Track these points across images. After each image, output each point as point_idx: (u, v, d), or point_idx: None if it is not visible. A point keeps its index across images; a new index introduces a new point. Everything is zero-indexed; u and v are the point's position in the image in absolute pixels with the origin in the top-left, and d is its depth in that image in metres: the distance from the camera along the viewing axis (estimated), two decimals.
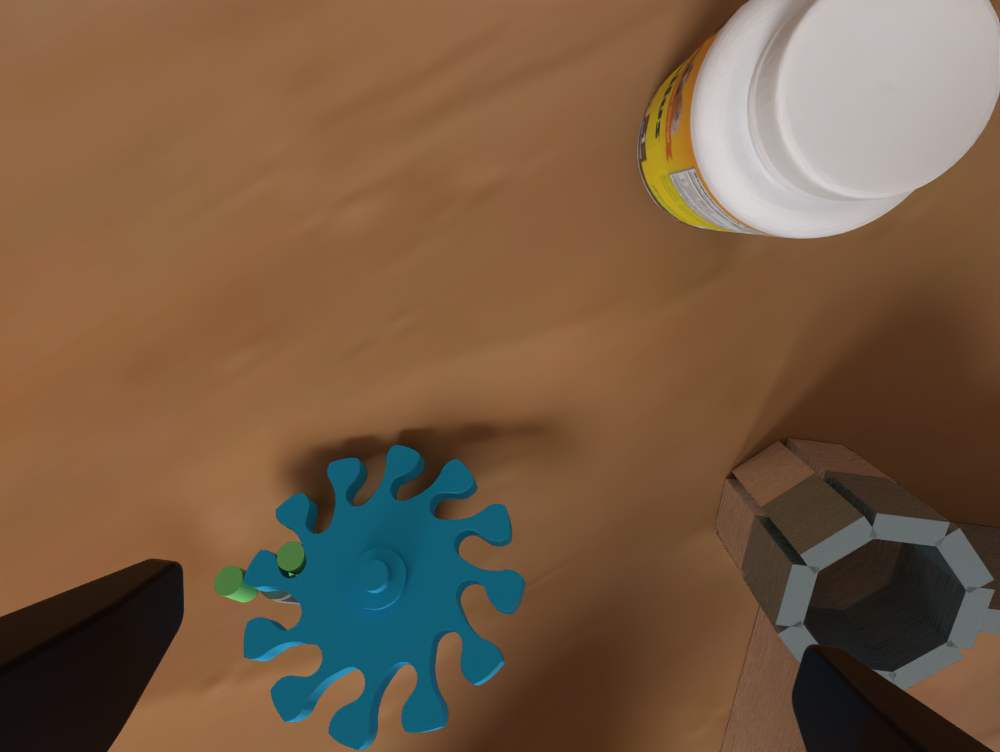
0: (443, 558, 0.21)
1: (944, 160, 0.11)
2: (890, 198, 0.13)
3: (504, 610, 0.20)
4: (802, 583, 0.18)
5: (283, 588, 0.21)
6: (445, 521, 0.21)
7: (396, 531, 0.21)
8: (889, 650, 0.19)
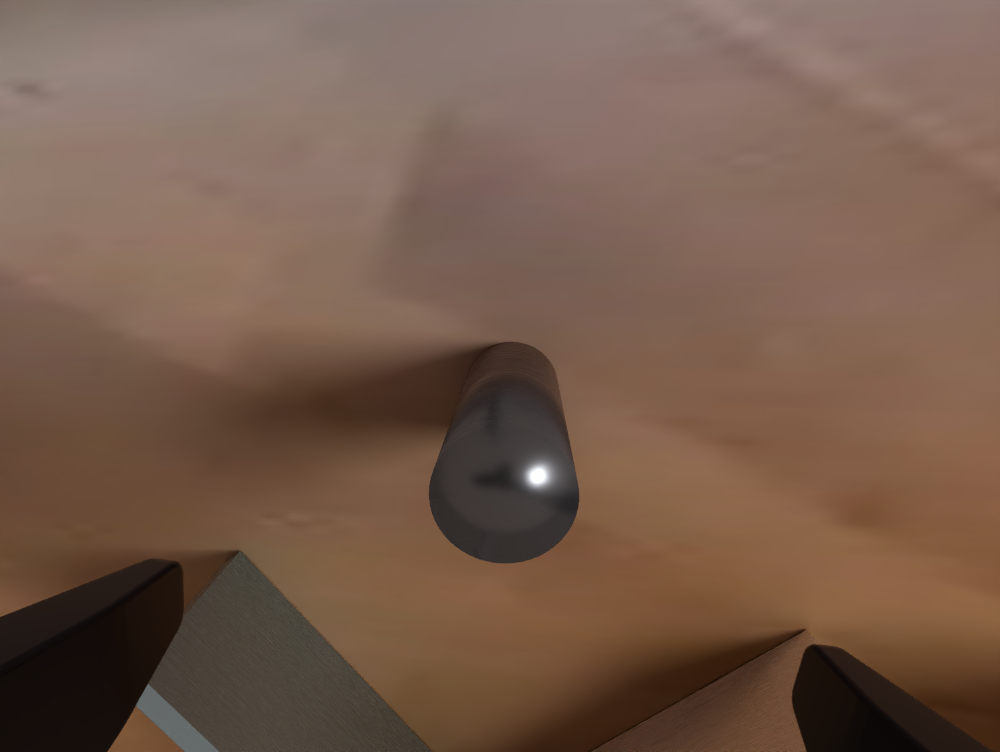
0: None
1: None
2: None
3: None
4: None
5: None
6: None
7: None
8: None
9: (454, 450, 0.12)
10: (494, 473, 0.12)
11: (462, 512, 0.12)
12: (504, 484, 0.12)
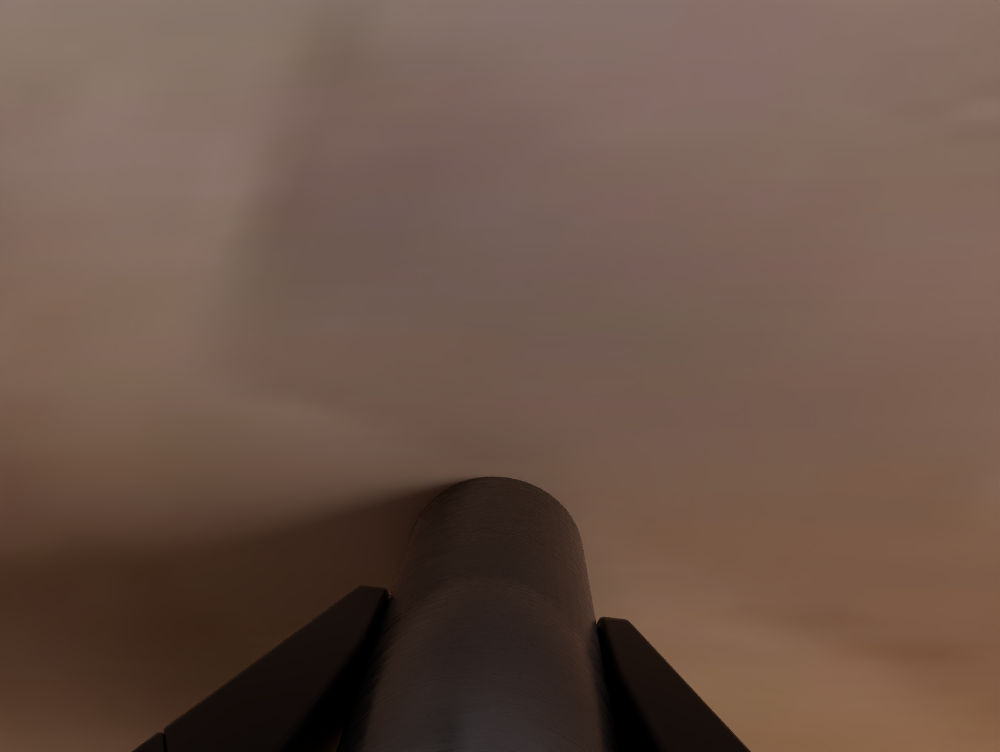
0: None
1: None
2: None
3: None
4: None
5: None
6: None
7: None
8: None
9: None
10: None
11: None
12: None
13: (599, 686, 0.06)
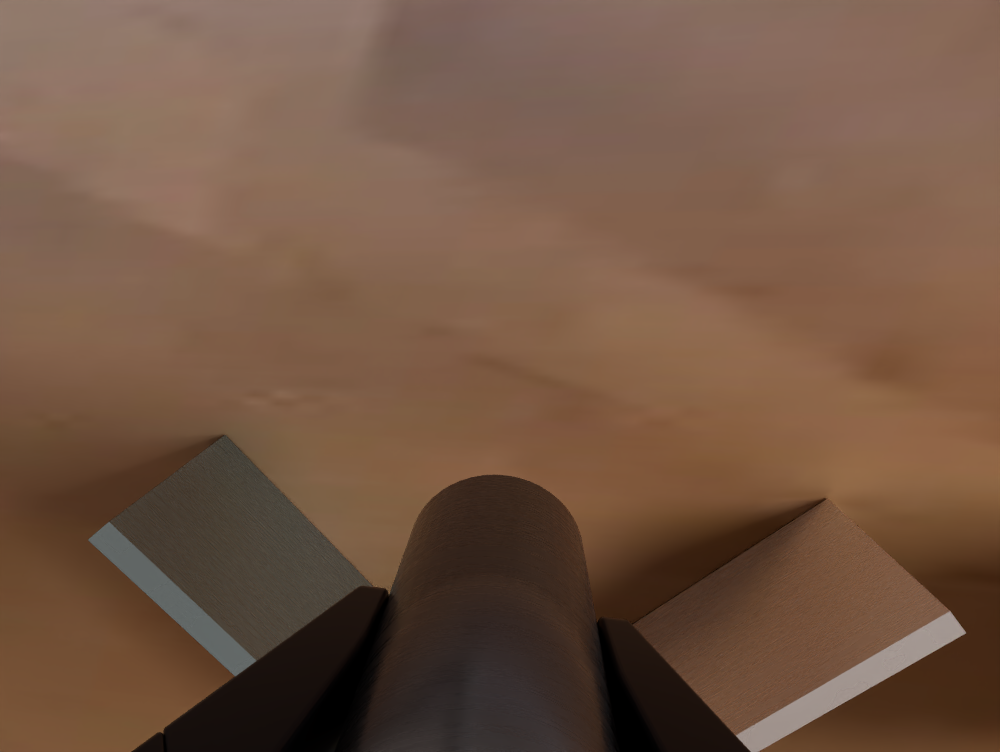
0: None
1: None
2: None
3: None
4: None
5: None
6: None
7: None
8: None
9: None
10: None
11: None
12: None
13: (599, 683, 0.06)
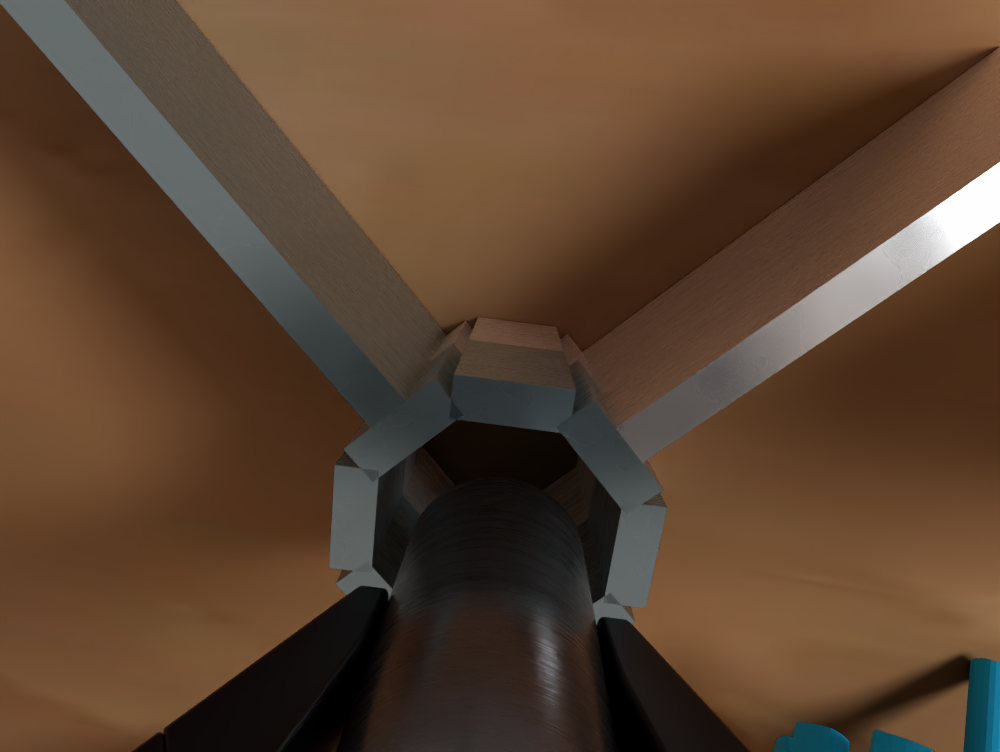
0: None
1: None
2: None
3: None
4: None
5: None
6: None
7: None
8: None
9: None
10: None
11: None
12: None
13: (599, 686, 0.06)
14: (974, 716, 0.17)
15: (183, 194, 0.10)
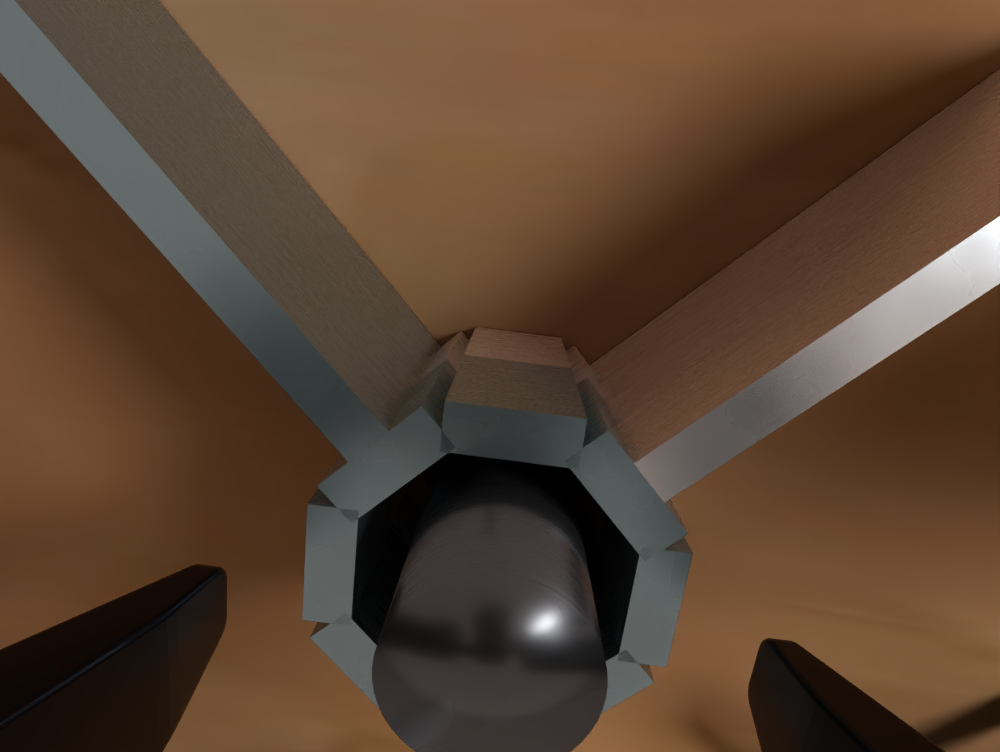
0: None
1: None
2: None
3: None
4: None
5: None
6: None
7: None
8: None
9: (409, 615, 0.07)
10: (473, 647, 0.07)
11: (424, 704, 0.08)
12: (488, 663, 0.08)
13: (567, 482, 0.11)
14: None
15: (125, 190, 0.08)
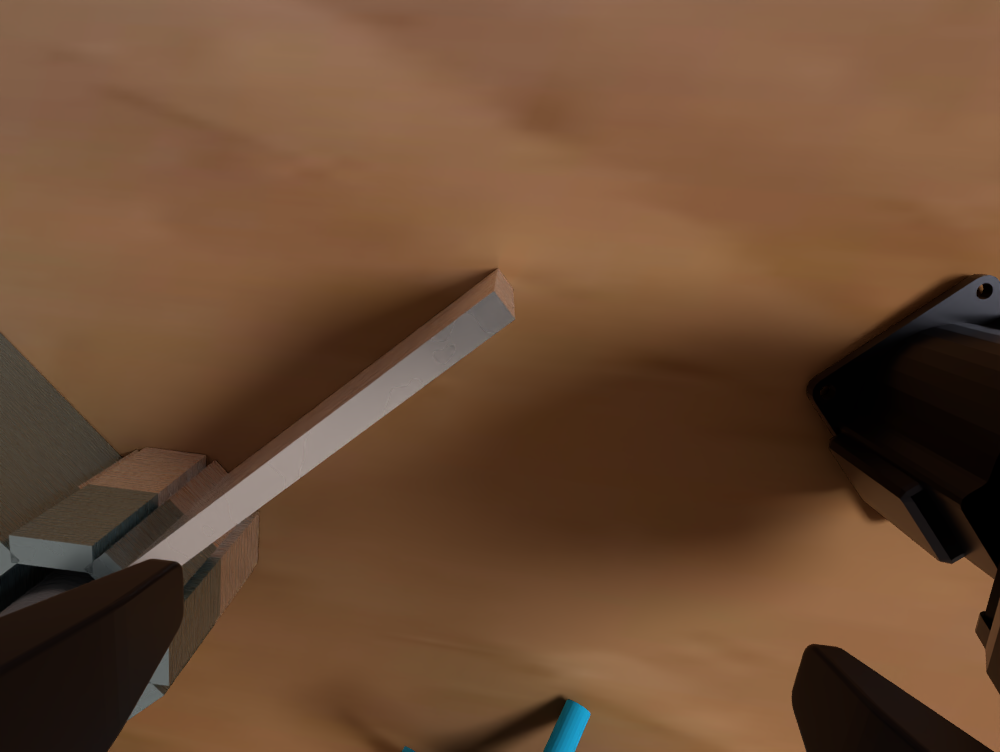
0: None
1: None
2: None
3: None
4: None
5: None
6: None
7: None
8: None
9: None
10: None
11: None
12: None
13: None
14: (548, 744, 0.22)
15: None
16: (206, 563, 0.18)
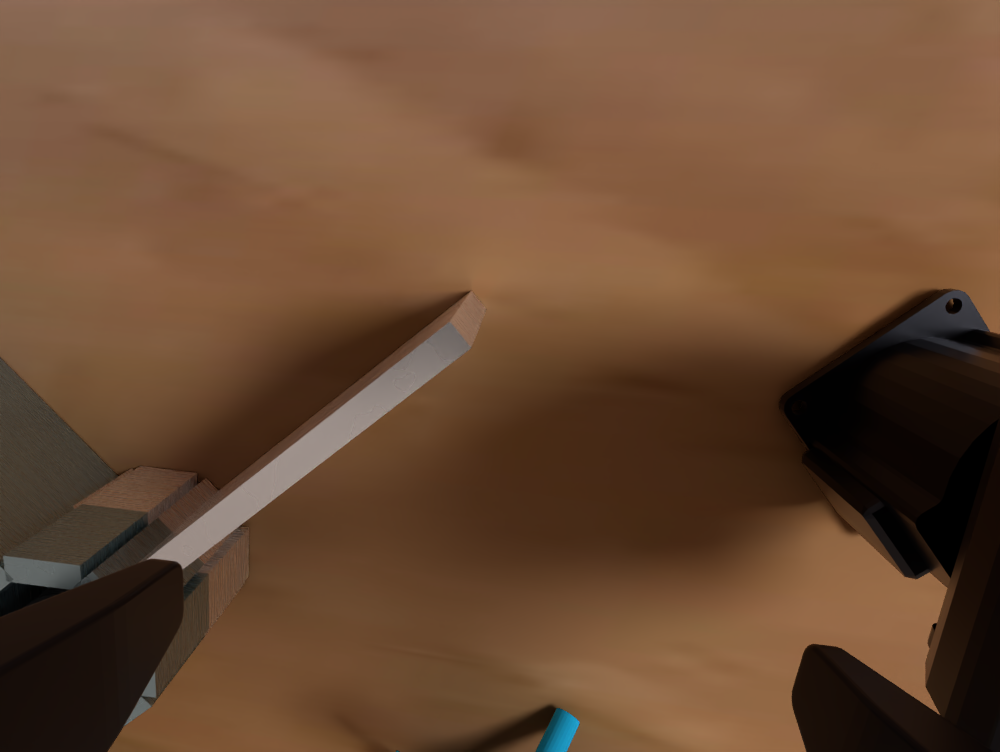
0: None
1: None
2: None
3: None
4: None
5: None
6: None
7: None
8: None
9: None
10: None
11: None
12: None
13: None
14: None
15: None
16: (194, 579, 0.19)
